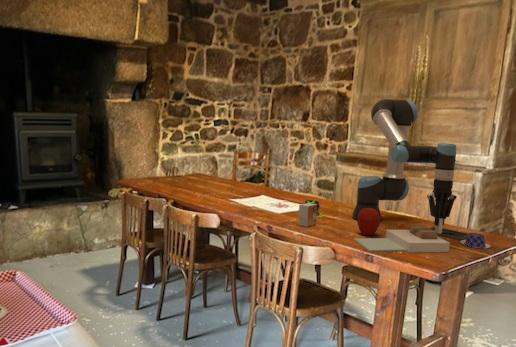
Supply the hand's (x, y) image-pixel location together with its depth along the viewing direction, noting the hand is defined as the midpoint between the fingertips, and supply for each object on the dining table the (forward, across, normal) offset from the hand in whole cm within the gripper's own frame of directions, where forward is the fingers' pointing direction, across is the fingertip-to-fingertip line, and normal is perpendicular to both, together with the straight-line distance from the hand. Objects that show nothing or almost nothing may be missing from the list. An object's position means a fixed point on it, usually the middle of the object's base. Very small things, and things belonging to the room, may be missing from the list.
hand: (438, 232), depth 174 cm
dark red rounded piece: (+6, -25, +16) cm, 30 cm away
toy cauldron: (+6, -40, +56) cm, 69 cm away
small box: (+6, -49, +34) cm, 60 cm away
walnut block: (+1, -7, 0) cm, 7 cm away
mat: (+5, -27, 0) cm, 28 cm away
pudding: (+6, +18, -1) cm, 19 cm away
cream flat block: (+5, -10, 0) cm, 12 cm away
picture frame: (+6, +16, +16) cm, 23 cm away
